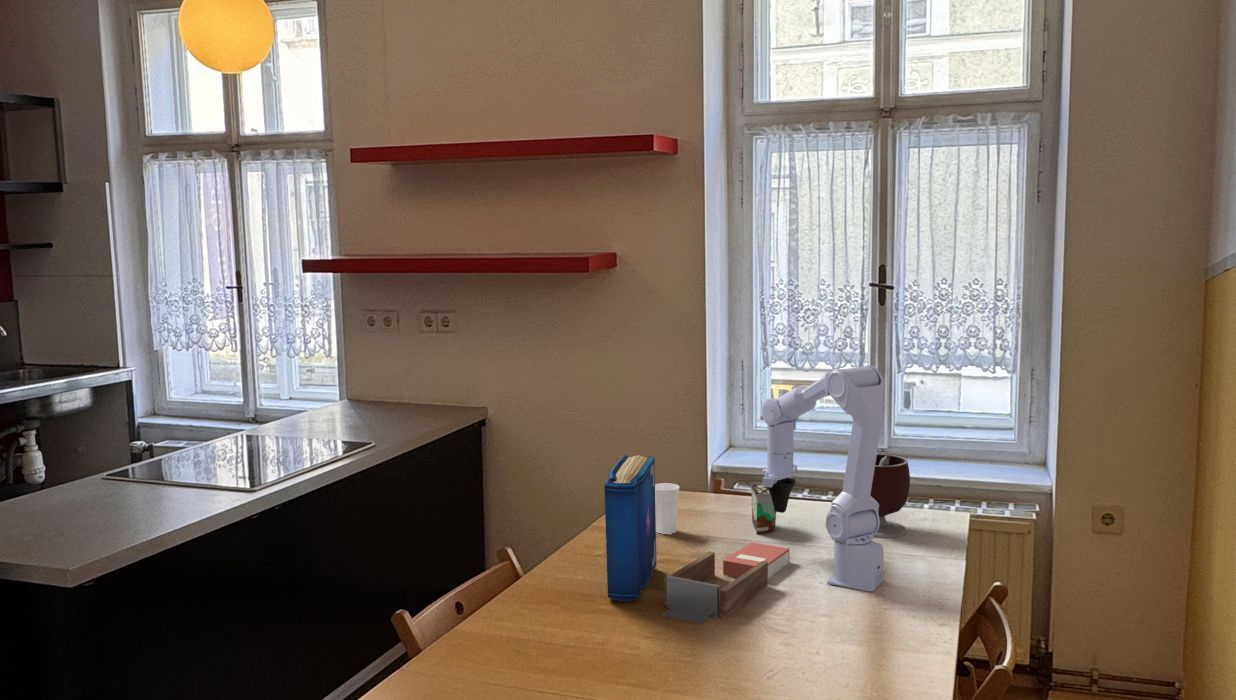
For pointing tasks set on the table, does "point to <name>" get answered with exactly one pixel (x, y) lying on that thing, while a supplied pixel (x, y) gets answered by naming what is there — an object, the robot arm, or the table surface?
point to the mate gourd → (890, 491)
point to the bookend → (692, 599)
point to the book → (630, 527)
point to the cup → (666, 507)
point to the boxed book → (756, 559)
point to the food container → (762, 509)
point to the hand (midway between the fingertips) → (780, 511)
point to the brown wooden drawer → (734, 591)
